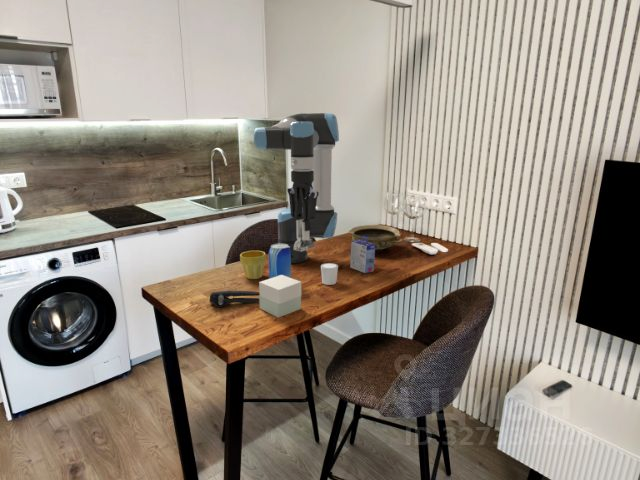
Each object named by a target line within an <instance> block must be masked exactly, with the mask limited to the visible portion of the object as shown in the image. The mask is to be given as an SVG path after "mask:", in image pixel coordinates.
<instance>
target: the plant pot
mask: <svg viewBox="0 0 640 480" xmlns="http://www.w3.org/2000/svg"><path fill="white" fill-rule="evenodd" d="M239 260H240V263H241V265H242V268H243V271H244V274H245V278H246V279H248V280H257V279H261V278H262V277H263V274H264V267H265V263H266V260H267V254H266V252H265V251H262V250H248V251H243V252H241V253H240V254H239Z"/></svg>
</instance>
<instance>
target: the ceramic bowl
mask: <svg viewBox="0 0 640 480" xmlns="http://www.w3.org/2000/svg"><path fill="white" fill-rule="evenodd" d="M347 232H348V234H349V235H351V238H352V241H355V240H361V239H362V237H363V236H366V237H369V238H368V241H367V242H370V243H373V244H375V253H377V252H378V253H379V252H382V251H383V249H387V248H390V247H392V246H394V245H395V244H399V243H402V242H403V239H401V238H397V236H399V235H400V231H399V230H398V229H397V228H394V227H392V226H388V225H380V224H364V225H358V226H355V227H352V228H351V229H348V230H347ZM363 240H367V239H366V238H363Z"/></svg>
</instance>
